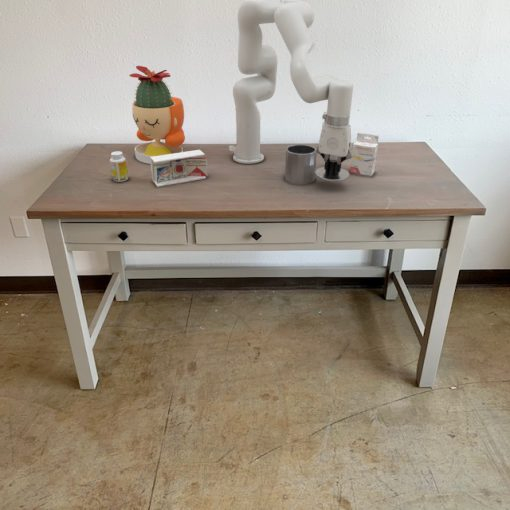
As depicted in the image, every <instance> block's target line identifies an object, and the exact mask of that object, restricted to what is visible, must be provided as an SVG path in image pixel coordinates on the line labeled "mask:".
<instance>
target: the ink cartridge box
mask: <svg viewBox="0 0 510 510" xmlns="http://www.w3.org/2000/svg"><path fill="white" fill-rule="evenodd" d="M367 137H368V138H367ZM379 138H380V137H379V135H376V134H370V133H363V132H362V133H361V132H357V134H356V141H354V143H353V144H352V149H351V152H352V155H353V157H352V158H351V159H350V167H349V174H350V173H351V174H358V175H364V176H369V177H372V176H373V175H374V173H375V170H376V163H377V156H378V155H377V154H378V149H379Z"/></svg>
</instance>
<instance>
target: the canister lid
mask: <svg viewBox="0 0 510 510" xmlns="http://www.w3.org/2000/svg"><path fill="white" fill-rule="evenodd" d="M336 163H337V160H330V161H329V171H328V173H325V169H324V168H325V166H321V167H318V168H316V170H315V177H316V178H318V179H320V180H324V181H328V182H341V181H345V180H348V179H349V178H350V171H349V170H347V169H345V168H342V167H341V170H340V172H339V173H338V174H337V175H335V174H334V172H335V164H336Z"/></svg>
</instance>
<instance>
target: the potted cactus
mask: <svg viewBox="0 0 510 510" xmlns="http://www.w3.org/2000/svg"><path fill="white" fill-rule="evenodd" d="M135 68H136V70H137V71H139V72H141V73H142V74H143V75H142V74H140V73H131V74H129V77H131V78H137V80H138V81H139V83H138V85H137V86H136V89H134V91H135V93H134V95H135V96H134V99H135V100H133V103H132V105H131V107H132V109H131V110H132V118H133V121H134V123H135V125H136V127H137V128H138V130H137V131H136V137H137V139H139V140H140V141H143V143H139V144H138V145H136V146H135V147H134V155H135V159H136V160H137V161H139V162H141V163H144V164H149V165H151V162H150V157H154V156H160V155H167V154H174V153H180V152H184V148H183V147H182V145H184V143H185V141H186V136H185V131H184V130H183V125H184V122H185V109H184V103H183V100H182V99H181V98H179V97H176V96H171V94H172V93H173V92H170V88H169V87H170V85H168V84H167V82H166V80H165V78H171V73H169V72H168V70H167V69H164V70H162V71H158V72H157V73H156V70H154V69H153V70H152V71H151V70H150V69H149V68H148V66H142V65H136V66H135ZM153 140H154V141H153ZM162 140H164V142H163V141H162Z"/></svg>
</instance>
